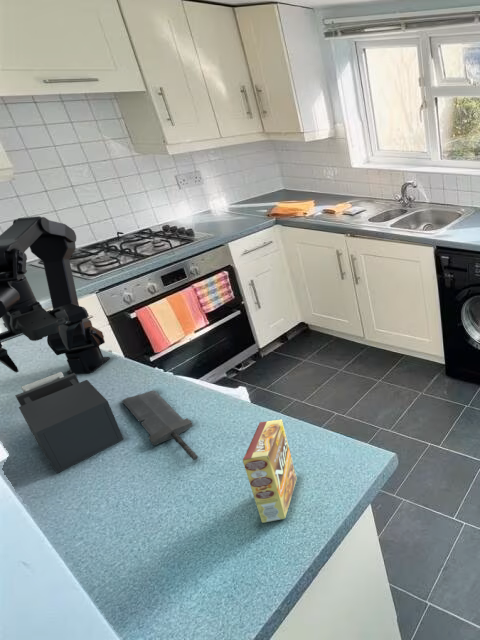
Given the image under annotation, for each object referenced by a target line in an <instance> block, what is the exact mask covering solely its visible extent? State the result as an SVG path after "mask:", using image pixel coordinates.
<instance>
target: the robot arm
mask: <svg viewBox="0 0 480 640" xmlns="http://www.w3.org/2000/svg"><path fill="white" fill-rule="evenodd" d="M76 242H77V235H76V232H75V230H74V229H73V228H71V227H70V226H69V225H68V224H67V223H63V222H58V221H53V220H49V219H48V218H47V217H45V216H38V215H37V216H27V217H19V218H16V219H13V221H12V224H11V225H10V226H9V227H8V228H7V229H6V230H5V231H3V232H2V233H1V234H0V319H2V321H3V323H2V324H3V326H4V328H6V329H7V330H6V331H3V332H0V363H1V364H3V365H4V366H6V367H7V368H9V369H10V370H11V371H13V372H14V373H15V374H16V373H18V372H20V371H19V368H18V366H17V365H16V364H15V362H14V360H13V359H12V358H11V357H10V355H9V354H8V353H9V352H8V349H6V348H5V347H3V344H2V343H5V342H8V341H10V340H13V339H15V338H18V337H21V336H24V337H26V338H27V339H28V340H29V341H32V342H36V341H41V340H43V338H46V342H47V345H48V346H49V348H50V349H51V350H52V352H53V353H54V354H55V355H56V356H60V355H65V357H66V362H67V365H68V367H69V369H68V370H67V371H66V374H67V375H70V374H72V373H75V374H84V373H85V374H86V373H94V372H95V371H97V370H98V369H99V368H100V367H102V366H103V365H104V364H105V363H107V362H108V361H109V360H111V357H110V356H103V353H102V350H101V348H100V346H101V345H104V344H105V343H106V342H105V336H104V333H103V331H102V330H101V329H98V328H97V327H94V326H93V323H92V320H91V319H90V318H88V317H90V316H89V313H88V310H87V309H86V307H84V306H81V305H80V303H79V299H78V293H77V289H76V285H75V280H74V275H73V271H72V266H71V262H70V261H71V260H70V259H71V257H72V256H73V254H74V252H75V251H76V249H77V247H76ZM28 249H30V253H32V254H33V255H34V256H35V257H37V258H38V259H39V260H40V261H41V262H42V264H43V268H44V274H45V278H46V283H47V287H48V293H49V297H50V302H51V306H52V309H49V310H46V309H45V308H44V307H43V305H42V304H41V303H40V301H37V297H36V296H35V293H34V292H33V289H32V286H31V285H30V282H29V281H28V279H27V276H26V273H27V272H28V270H27V261H28V255H27V254H26V251H27V250H28Z"/></svg>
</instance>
